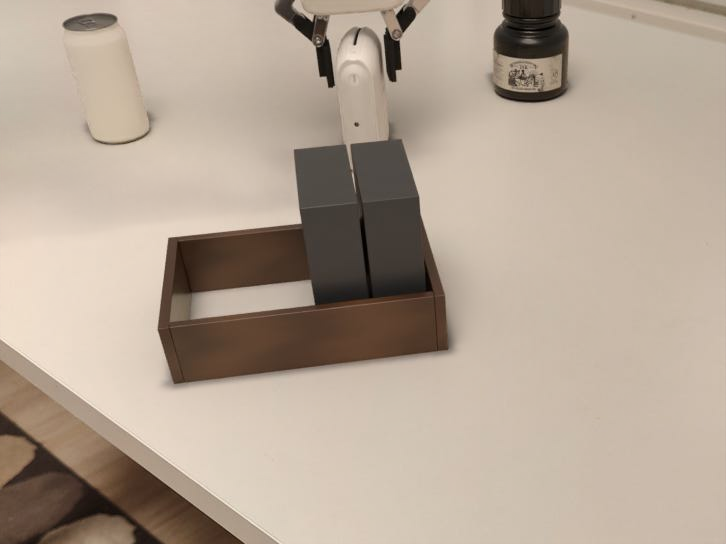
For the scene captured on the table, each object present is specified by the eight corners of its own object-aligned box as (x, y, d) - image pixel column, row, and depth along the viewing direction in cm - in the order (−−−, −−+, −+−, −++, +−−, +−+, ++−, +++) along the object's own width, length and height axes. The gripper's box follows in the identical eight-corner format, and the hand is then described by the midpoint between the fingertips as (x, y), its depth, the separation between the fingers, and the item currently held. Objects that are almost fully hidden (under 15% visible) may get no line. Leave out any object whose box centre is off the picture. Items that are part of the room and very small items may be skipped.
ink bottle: (480, 98, 113) (478, -12, 105) (503, 72, 119) (502, -33, 111) (559, 106, 110) (563, -5, 102) (578, 79, 116) (583, -28, 108)
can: (106, 150, 104) (72, 35, 96) (83, 132, 108) (48, 20, 100) (160, 134, 107) (131, 21, 99) (136, 117, 111) (106, 7, 102)
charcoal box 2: (378, 346, 73) (361, 202, 65) (366, 281, 80) (349, 143, 72) (429, 340, 74) (419, 196, 66) (412, 275, 81) (401, 138, 73)
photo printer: (385, 174, 98) (373, 49, 90) (343, 174, 98) (328, 50, 90) (392, 133, 106) (382, 15, 97) (354, 134, 106) (341, 16, 97)
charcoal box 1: (322, 353, 73) (299, 208, 65) (315, 286, 80) (293, 148, 72) (374, 347, 73) (357, 202, 65) (362, 281, 80) (345, 143, 72)
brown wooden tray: (177, 396, 71) (157, 329, 67) (185, 301, 81) (167, 237, 77) (448, 362, 73) (445, 295, 69) (424, 273, 83) (419, 210, 79)
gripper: (428, -141, 88) (438, 60, 100) (242, -129, 86) (275, 75, 98) (441, -125, 83) (450, 86, 95) (242, -112, 81) (277, 102, 93)
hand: (361, 78), depth 96 cm, fingers open, 5 cm apart
